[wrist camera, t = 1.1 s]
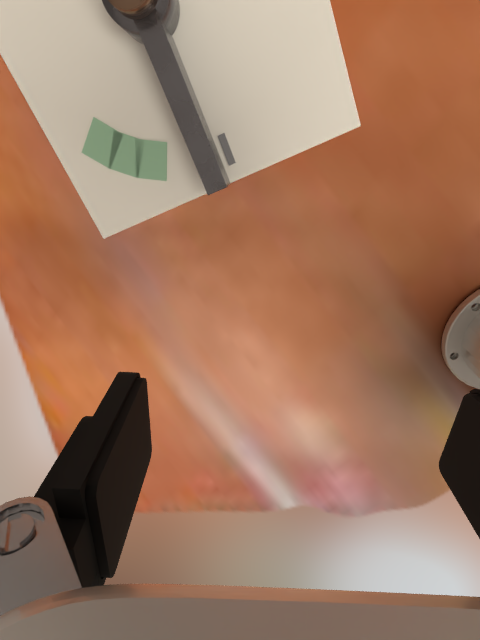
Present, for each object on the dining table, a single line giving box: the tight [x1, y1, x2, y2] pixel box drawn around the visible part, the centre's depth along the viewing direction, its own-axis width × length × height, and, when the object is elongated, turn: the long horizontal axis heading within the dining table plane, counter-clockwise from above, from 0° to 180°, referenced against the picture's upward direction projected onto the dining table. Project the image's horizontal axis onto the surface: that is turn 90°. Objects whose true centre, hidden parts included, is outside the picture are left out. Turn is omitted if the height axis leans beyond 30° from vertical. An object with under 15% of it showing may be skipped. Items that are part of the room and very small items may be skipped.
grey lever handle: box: [102, 0, 230, 195], centre depth 25 cm, size 15×4×6 cm, turn 22°
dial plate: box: [0, 0, 361, 239], centre depth 28 cm, size 24×22×2 cm
